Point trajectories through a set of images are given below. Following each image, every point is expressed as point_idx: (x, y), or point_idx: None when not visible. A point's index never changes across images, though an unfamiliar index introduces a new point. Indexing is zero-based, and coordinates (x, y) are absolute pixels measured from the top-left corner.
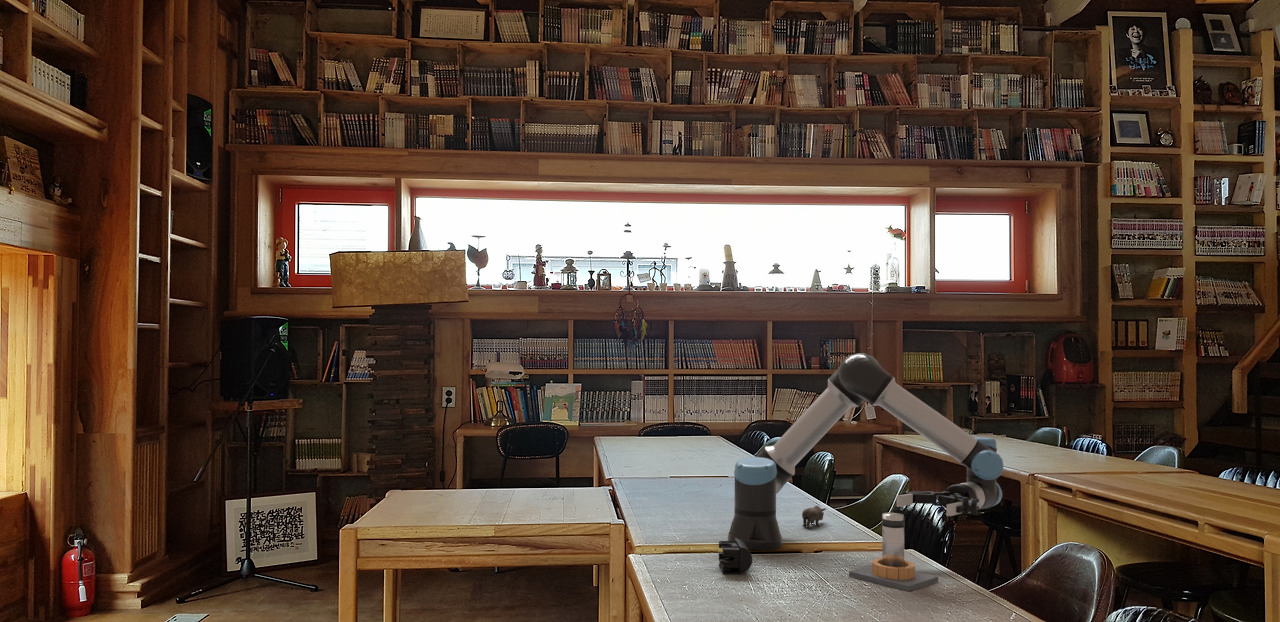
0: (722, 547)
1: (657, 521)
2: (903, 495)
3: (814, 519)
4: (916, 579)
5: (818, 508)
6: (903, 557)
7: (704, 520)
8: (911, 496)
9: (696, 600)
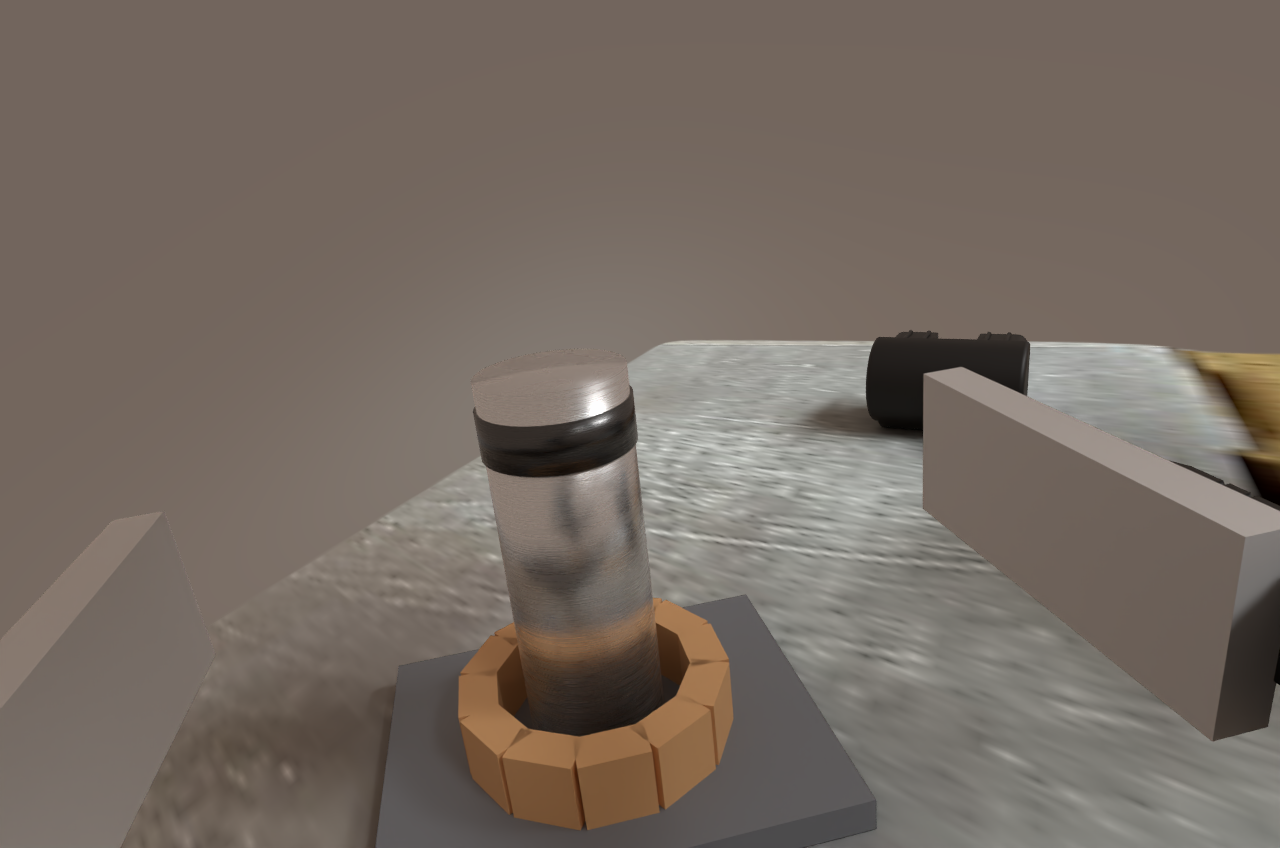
0: (918, 332)
1: None
2: (998, 408)
3: None
4: (436, 756)
5: None
6: (519, 648)
7: None
8: (1192, 558)
9: (695, 365)
